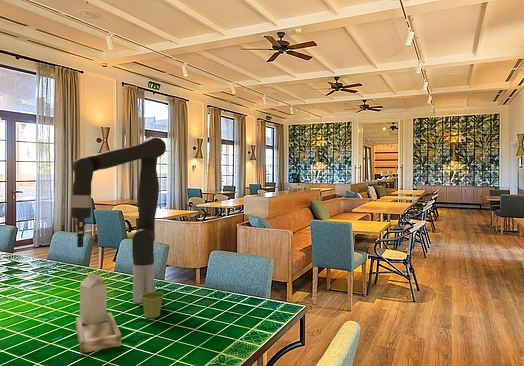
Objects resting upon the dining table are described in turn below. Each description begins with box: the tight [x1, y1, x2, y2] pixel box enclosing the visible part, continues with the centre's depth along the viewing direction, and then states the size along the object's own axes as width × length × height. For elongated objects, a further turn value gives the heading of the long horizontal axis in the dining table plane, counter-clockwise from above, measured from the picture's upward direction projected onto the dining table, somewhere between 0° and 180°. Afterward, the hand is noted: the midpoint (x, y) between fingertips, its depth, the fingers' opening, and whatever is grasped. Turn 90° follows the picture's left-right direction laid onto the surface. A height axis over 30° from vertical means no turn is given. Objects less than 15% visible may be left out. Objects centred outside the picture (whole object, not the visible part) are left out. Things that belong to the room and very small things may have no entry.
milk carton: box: [79, 272, 108, 326], centre depth 152 cm, size 7×7×19 cm
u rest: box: [75, 311, 123, 354], centre depth 140 cm, size 13×24×4 cm, turn 29°
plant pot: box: [140, 291, 165, 319], centre depth 160 cm, size 9×9×9 cm
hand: (80, 245), depth 160 cm, fingers open, 8 cm apart
